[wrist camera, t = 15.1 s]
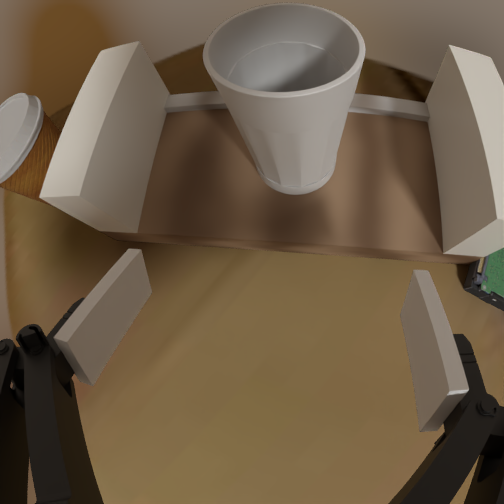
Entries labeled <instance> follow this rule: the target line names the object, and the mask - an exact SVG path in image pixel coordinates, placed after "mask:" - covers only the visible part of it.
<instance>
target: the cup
mask: <svg viewBox="0 0 504 504" xmlns="http://www.w3.org/2000/svg"><path fill="white" fill-rule="evenodd" d="M364 57H365V44H364V40H363V38H362V36H361V34H360V32H359V31H358V30H357V28H356V27H355V26H353V24H352V23H350V22H349V21H348V20H347V19H345V18H344V17H342V16H340V15H339V14H337V13H335V12H333V11H330V10H328V9H325V8H322V7H318V6H314V5H309V4H303V3H274V4H267V5H261V6H257V7H254V8H250V9H247V10H245V11H242V12H240V13H238V14H236V15H234V16H232V17H230V18H229V19H227V20H226V21H224V22H223V23H221V24H220V25H219V26H218V27H217V28H216V29H215V30H214V31H213V32H212V33H211V35H210V36H209V38H208V39H207V41H206V43H205V46H204V50H203V62H204V65H205V68H206V69H207V71H208V73H209V75H210V77H211V79H212V80H213V82H214V84H215V86H216V88H217V89H218V91H219V93H220V95H221V97H222V99H223V100H224V102H225V104H226V106H227V108H228V110H229V112H230V114H231V116H232V117H233V119H234V121H235V123H236V125H237V127H238V129H239V131H240V133H241V135H242V137H243V139H244V141H245V144H246V146H247V148H248V150H249V152H250V154H251V156H252V158H253V160H254V162H255V164H256V167H257V171H258V173H259V175H260V177H261V178H262V180H263V181H264V182H265V183H266V184H267V185H268V186H270V187H271V188H273V189H274V190H276V191H279V192H281V193H285V194H291V195H301V194H307V193H310V192H313V191H315V190H317V189H319V188H321V187H322V186H323V185H324V184H326V183H327V181H328V180H329V179H330V178H331V176H332V174H333V172H334V169H335V165H336V157H337V151H338V147H339V144H340V140H341V137H342V133H343V129H344V125H345V122H346V118H347V114H348V110H349V107H350V104H351V102H352V100H353V97H354V94H355V90H356V87H357V83H358V79H359V76H360V72H361V69H362V65H363V61H364Z"/></svg>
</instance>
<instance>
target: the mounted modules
mask: <svg viewBox="0 0 504 504" xmlns="http://www.w3.org/2000/svg"><path fill="white" fill-rule="evenodd" d="M168 95H170V93H169V91H168V90H167V88H166V86H165V84H164V83H163V81H162V79H161V77H160V75H159V74H158V72H157V70H156V68H155V67H154V65H153V63H152V61H151V60H150V58H149V56H148V54H147V53H146V51H145V49H144V47H143V46H142V44H141V42H140V41H137V42H133V43H129V44H124V45H121V46H117V47H113V48H109V49H106V50H103V51H101V52H100V54H99V55H98V57H97V59H96V61H95V63H94V64H93V66H92V68H91V70H90V72H89V74H88V76H87V78H86V80H85V82H84V84H83V86H82V88H81V90H80V92H79V94H78V96H77V98H76V100H75V103H74V105H73V107H72V109H71V111H70V114H69V116H68V118H67V121H66V123H65V126H64V128H63V130H62V133H61V135H60V138H59V140H58V143H57V146H56V148H55V151H54V154H53V157H52V159H51V162H50V165H49V168H48V171H47V174H46V177H45V180H44V183H43V187H42V190H41V193H40V197H39V198H41V199H43V200H44V201H46V202H48V203H50V204H51V205H53V206H55V207H57V208H58V209H60V210H62V211H64V212H65V213H67V214H69V215H71V216H73V217H74V218H76V219H78V220H80V221H82V222H84V223H85V224H87V225H89V226H91V227H93V228H95V229H96V230H98V231H107V232H126V233H137V232H138V227H139V222H140V217H141V212H142V207H143V203H144V198H145V194H146V189H147V185H148V181H149V177H150V173H151V169H152V165H153V161H154V157H155V153H156V149H157V146H158V142H159V138H160V135H161V131H162V128H163V124H164V121H165V118H166V114H167V112H166V110H165V109H164V106H165V103H166V100H167V97H168ZM425 103H427V105H428V110H429V114H430V118H429V120H428V126H429V131H430V137H431V142H432V148H433V154H434V160H435V167H436V174H437V182H438V190H439V199H440V209H441V222H442V238H443V254H455V255H467V256H478V257H485V256H487V255H489V254H491V253H493V252H495V251H498V250H500V249H502V248H504V85H503V82H502V80H501V78H500V76H499V73H498V72H497V69H496V67H495V65H494V63H493V61H492V59H491V57H488V56H485V55H482V54H479V53H476V52H473V51H470V50H466V49H463V48H459V47H456V46H452V45H449V46H448V48H447V51H446V54H445V56H444V59H443V61H442V64H441V66H440V69H439V71H438V73H437V76H436V78H435V81H434V83H433V85H432V88H431V90H430V92H429V95H428V97H427V99H426V102H425Z"/></svg>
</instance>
